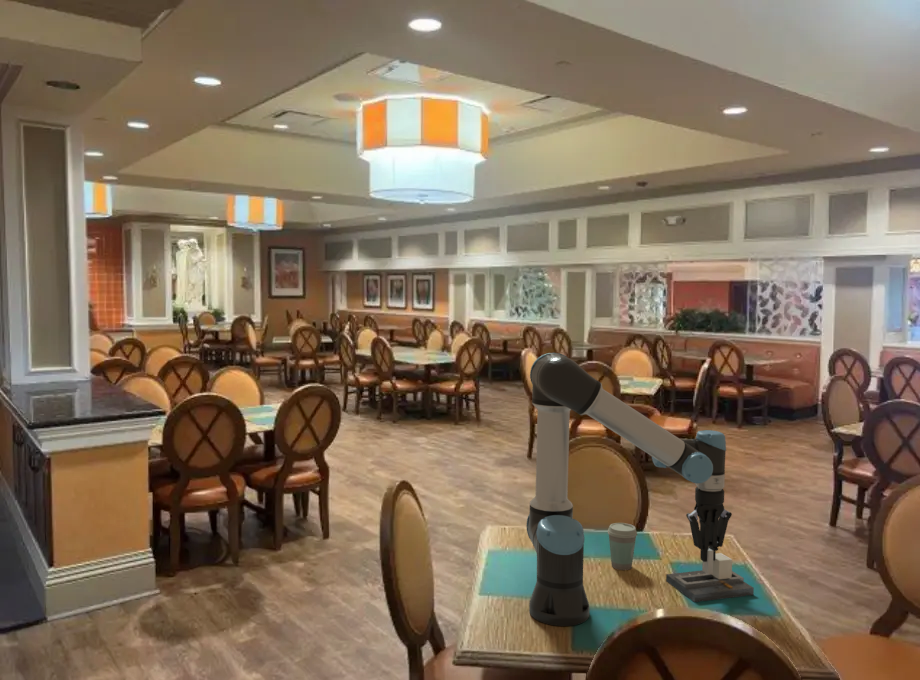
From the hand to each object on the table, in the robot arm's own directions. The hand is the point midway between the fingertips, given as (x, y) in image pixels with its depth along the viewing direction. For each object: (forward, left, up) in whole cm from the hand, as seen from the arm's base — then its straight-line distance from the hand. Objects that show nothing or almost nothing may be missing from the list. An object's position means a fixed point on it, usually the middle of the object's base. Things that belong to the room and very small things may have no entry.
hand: (707, 572), depth 199 cm
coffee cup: (-15, +20, -5) cm, 26 cm away
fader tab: (+4, 0, -3) cm, 5 cm away
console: (+1, 0, -5) cm, 5 cm away
